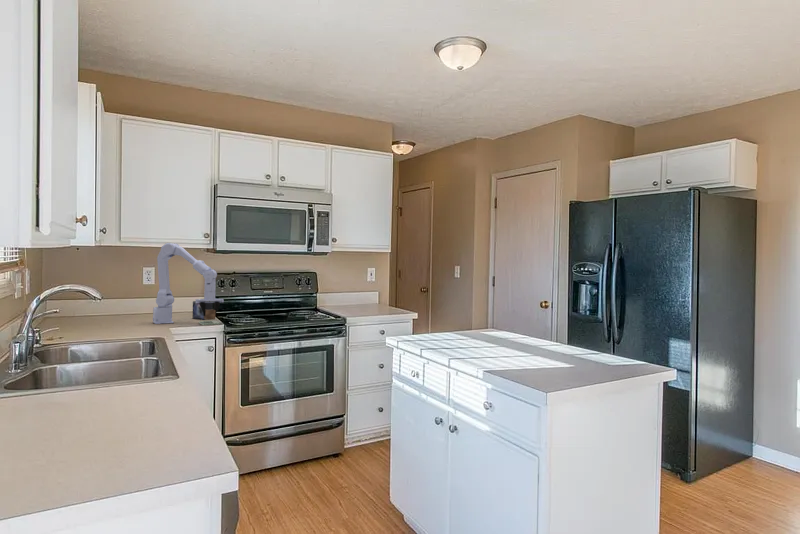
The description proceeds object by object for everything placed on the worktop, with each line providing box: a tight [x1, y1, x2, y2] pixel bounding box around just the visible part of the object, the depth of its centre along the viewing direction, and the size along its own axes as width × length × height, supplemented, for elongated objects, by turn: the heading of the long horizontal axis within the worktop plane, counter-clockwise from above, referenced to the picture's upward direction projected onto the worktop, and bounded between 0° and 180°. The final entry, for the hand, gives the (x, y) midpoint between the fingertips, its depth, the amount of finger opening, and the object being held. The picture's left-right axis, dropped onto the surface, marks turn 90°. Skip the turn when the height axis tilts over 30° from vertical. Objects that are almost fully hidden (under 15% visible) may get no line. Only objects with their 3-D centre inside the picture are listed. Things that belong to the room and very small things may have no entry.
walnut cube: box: [204, 308, 216, 321], centre depth 270 cm, size 5×5×5 cm
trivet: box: [198, 320, 221, 326], centre depth 270 cm, size 9×9×1 cm
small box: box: [192, 300, 214, 321], centre depth 289 cm, size 11×6×10 cm, turn 62°
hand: (209, 315), depth 270 cm, fingers closed on walnut cube, 5 cm apart
